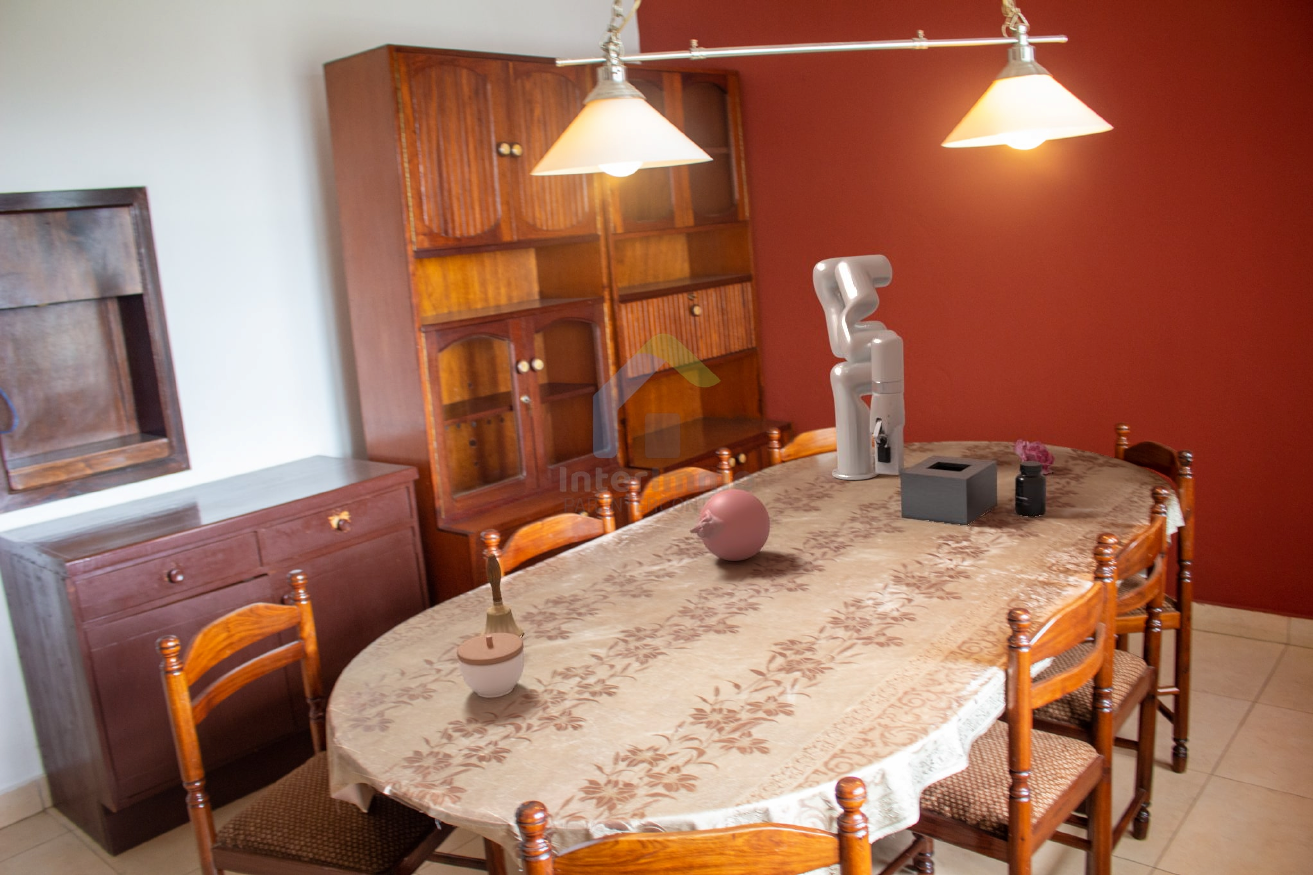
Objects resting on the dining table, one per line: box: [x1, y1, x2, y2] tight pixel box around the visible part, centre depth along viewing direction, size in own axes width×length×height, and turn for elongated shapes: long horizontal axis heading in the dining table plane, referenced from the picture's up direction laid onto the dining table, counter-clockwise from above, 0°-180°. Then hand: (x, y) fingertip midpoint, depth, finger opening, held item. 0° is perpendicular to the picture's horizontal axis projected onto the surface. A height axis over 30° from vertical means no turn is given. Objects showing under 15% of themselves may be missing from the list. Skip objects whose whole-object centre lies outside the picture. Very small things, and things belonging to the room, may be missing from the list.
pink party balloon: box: [689, 488, 771, 562], centre depth 220 cm, size 15×20×15 cm
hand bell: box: [479, 553, 525, 637], centre depth 189 cm, size 8×8×16 cm
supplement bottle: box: [1014, 461, 1047, 518], centre depth 237 cm, size 7×7×12 cm
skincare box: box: [874, 424, 905, 476], centre depth 251 cm, size 6×4×12 cm
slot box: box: [899, 454, 998, 526], centre depth 243 cm, size 18×16×11 cm
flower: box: [1012, 439, 1056, 475], centre depth 272 cm, size 11×10×10 cm
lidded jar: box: [456, 633, 525, 699], centre depth 168 cm, size 11×11×9 cm
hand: (889, 458), depth 252 cm, fingers closed on skincare box, 4 cm apart
